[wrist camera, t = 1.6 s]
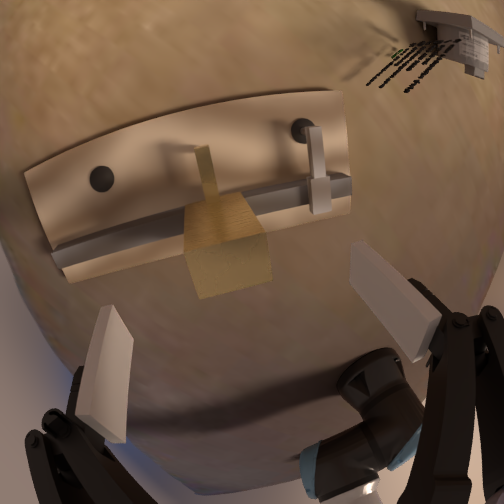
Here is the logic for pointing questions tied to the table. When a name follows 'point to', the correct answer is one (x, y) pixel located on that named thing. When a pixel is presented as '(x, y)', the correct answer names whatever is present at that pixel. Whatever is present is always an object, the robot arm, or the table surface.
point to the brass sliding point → (223, 238)
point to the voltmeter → (451, 44)
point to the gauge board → (191, 178)
